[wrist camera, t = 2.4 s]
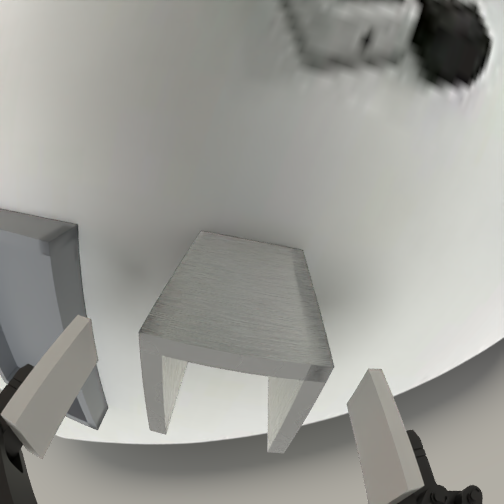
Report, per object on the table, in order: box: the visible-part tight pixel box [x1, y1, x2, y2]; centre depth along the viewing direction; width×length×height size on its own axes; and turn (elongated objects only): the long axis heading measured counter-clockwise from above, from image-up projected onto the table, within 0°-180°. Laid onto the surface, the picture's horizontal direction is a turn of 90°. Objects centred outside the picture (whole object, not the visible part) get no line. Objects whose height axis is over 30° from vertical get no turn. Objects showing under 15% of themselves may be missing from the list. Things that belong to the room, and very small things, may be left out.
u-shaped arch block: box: [139, 231, 334, 453], centre depth 14 cm, size 6×6×10 cm
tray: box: [0, 209, 108, 430], centre depth 20 cm, size 22×15×4 cm
